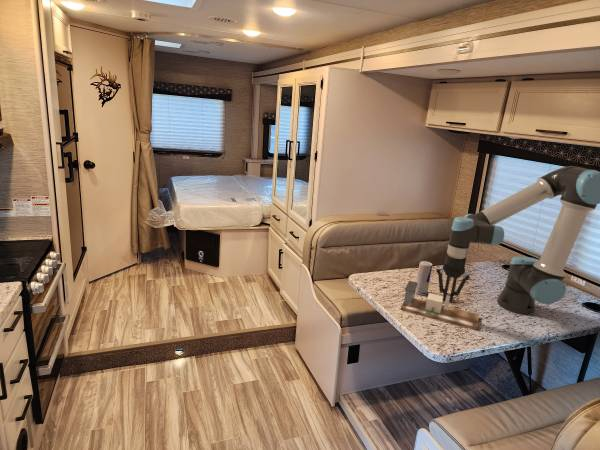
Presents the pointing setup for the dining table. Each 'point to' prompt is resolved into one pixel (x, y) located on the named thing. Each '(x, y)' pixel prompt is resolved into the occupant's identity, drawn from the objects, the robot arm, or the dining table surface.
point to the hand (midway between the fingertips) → (445, 308)
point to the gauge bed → (444, 314)
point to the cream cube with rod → (434, 303)
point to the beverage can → (423, 277)
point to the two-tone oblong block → (410, 293)
